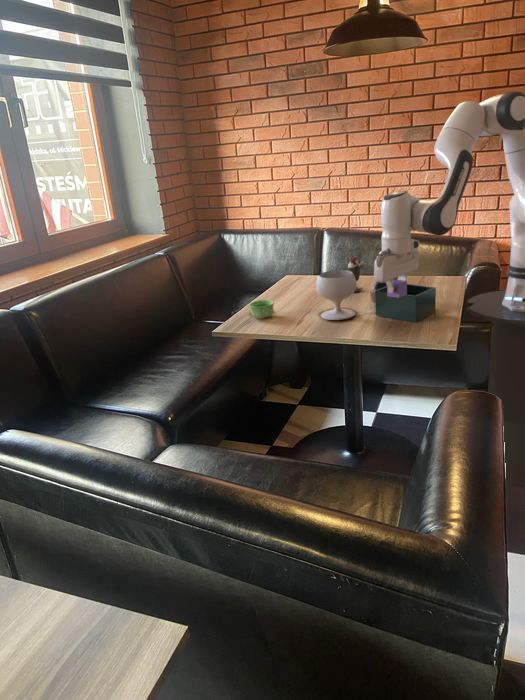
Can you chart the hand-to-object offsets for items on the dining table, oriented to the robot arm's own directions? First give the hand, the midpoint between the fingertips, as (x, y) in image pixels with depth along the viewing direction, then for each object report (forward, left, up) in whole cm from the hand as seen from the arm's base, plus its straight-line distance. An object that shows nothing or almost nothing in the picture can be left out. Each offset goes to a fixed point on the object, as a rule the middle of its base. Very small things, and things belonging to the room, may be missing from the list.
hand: (397, 289), depth 169 cm
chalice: (+23, +1, -12) cm, 26 cm away
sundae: (+38, -29, -12) cm, 50 cm away
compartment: (+4, -12, -12) cm, 17 cm away
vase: (+19, -19, -12) cm, 30 cm away
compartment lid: (+9, -12, +5) cm, 15 cm away
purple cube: (0, 0, -2) cm, 2 cm away
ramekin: (+48, +14, -12) cm, 52 cm away
